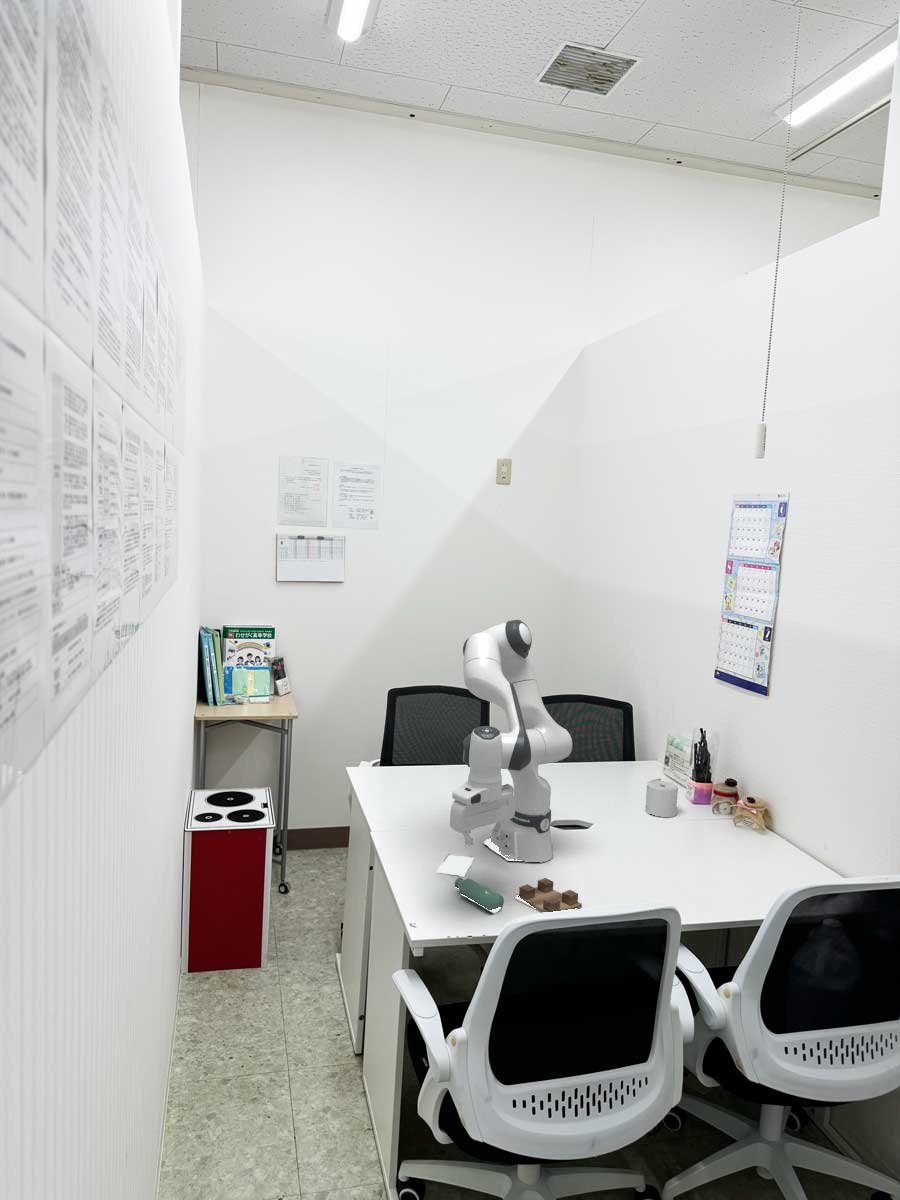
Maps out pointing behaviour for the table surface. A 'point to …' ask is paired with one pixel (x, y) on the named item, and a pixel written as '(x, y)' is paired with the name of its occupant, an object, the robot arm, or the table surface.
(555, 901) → the cradle
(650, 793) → the toilet tissue
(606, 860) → the table surface
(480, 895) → the bottle
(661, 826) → the table surface
